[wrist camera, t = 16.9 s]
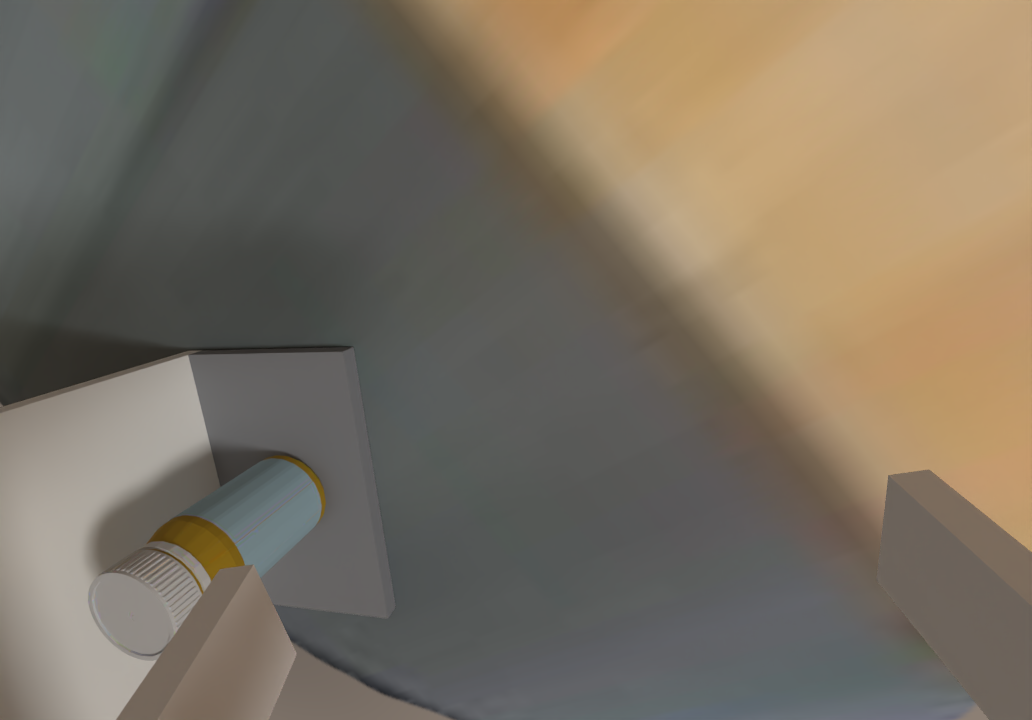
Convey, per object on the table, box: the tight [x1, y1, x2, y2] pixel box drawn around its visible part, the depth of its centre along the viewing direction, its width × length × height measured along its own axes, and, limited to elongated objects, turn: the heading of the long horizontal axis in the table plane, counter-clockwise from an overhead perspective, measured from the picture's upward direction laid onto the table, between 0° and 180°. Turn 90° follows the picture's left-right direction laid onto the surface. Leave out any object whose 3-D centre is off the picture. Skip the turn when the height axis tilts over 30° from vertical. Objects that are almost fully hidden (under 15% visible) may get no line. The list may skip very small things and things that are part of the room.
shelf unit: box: [0, 347, 396, 720], centre depth 32 cm, size 16×24×30 cm, turn 5°
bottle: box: [88, 455, 326, 661], centre depth 38 cm, size 7×7×15 cm
